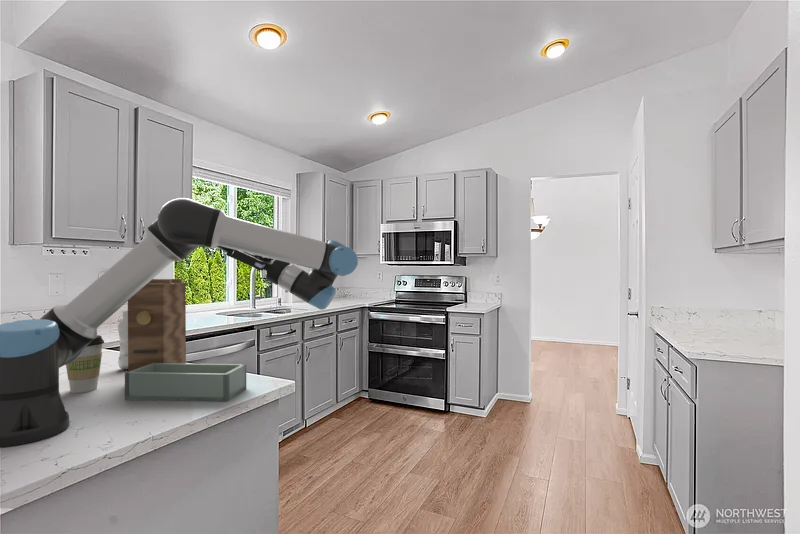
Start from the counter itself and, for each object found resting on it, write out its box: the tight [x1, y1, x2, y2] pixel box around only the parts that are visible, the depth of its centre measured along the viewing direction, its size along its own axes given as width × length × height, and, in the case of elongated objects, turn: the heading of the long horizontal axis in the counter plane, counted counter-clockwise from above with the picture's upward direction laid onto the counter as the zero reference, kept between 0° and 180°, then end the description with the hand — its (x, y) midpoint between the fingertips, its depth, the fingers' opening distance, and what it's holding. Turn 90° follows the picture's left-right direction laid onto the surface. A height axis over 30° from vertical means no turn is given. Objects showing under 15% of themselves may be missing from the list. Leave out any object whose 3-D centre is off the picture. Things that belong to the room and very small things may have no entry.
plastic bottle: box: [117, 309, 128, 370], centre depth 152 cm, size 6×7×20 cm
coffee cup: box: [65, 334, 105, 394], centre depth 127 cm, size 10×10×15 cm
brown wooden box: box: [127, 278, 189, 372], centre depth 138 cm, size 14×12×31 cm
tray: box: [124, 362, 247, 402], centre depth 123 cm, size 12×28×7 cm, turn 86°
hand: (222, 238), depth 130 cm, fingers open, 13 cm apart
